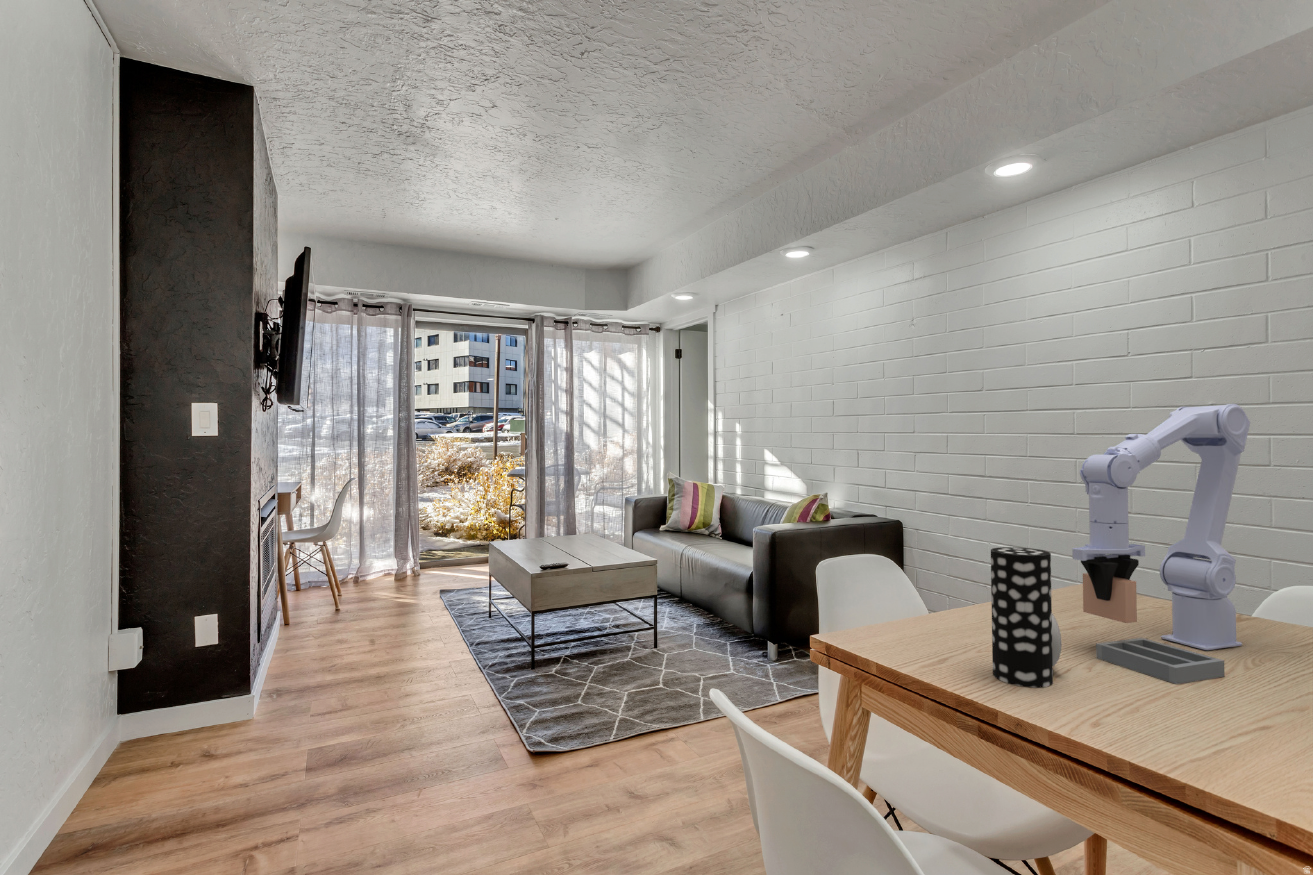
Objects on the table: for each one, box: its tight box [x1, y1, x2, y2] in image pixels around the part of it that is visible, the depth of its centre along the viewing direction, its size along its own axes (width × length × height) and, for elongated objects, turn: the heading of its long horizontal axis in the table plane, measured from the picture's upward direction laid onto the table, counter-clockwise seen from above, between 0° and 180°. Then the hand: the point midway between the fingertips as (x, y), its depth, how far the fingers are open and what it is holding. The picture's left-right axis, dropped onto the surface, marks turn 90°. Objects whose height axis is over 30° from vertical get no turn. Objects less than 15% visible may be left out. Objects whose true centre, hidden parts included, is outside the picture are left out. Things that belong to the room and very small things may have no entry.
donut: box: [1052, 613, 1062, 667], centre depth 108 cm, size 10×4×10 cm, turn 170°
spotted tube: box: [990, 546, 1054, 689], centre depth 103 cm, size 8×8×20 cm
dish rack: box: [1095, 637, 1225, 685], centre depth 107 cm, size 11×13×2 cm
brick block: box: [1082, 572, 1138, 624], centre depth 115 cm, size 2×8×7 cm, turn 16°
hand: (1109, 598), depth 115 cm, fingers closed on brick block, 2 cm apart
